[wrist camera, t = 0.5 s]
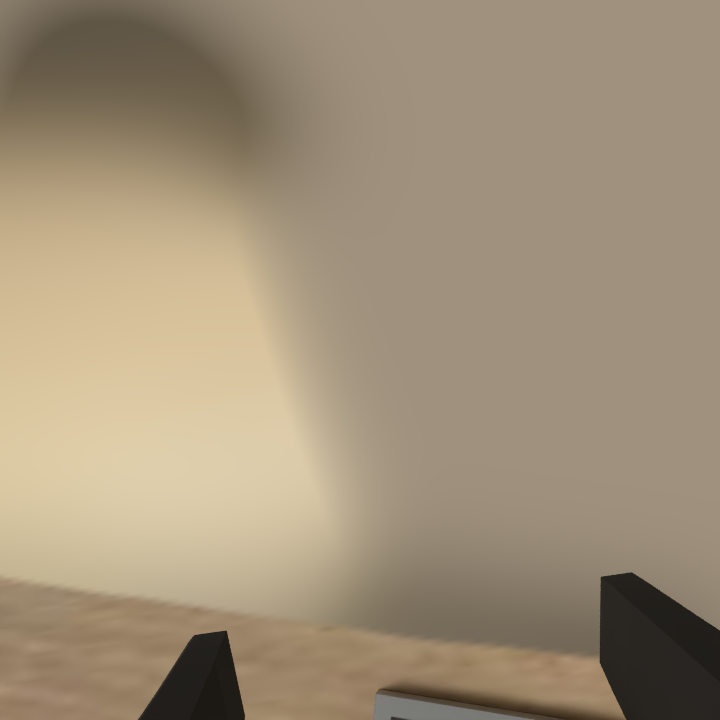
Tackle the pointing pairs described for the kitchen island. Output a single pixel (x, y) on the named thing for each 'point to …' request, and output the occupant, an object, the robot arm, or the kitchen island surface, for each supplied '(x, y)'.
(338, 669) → the kitchen island surface
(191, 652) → the robot arm
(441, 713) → the tray
